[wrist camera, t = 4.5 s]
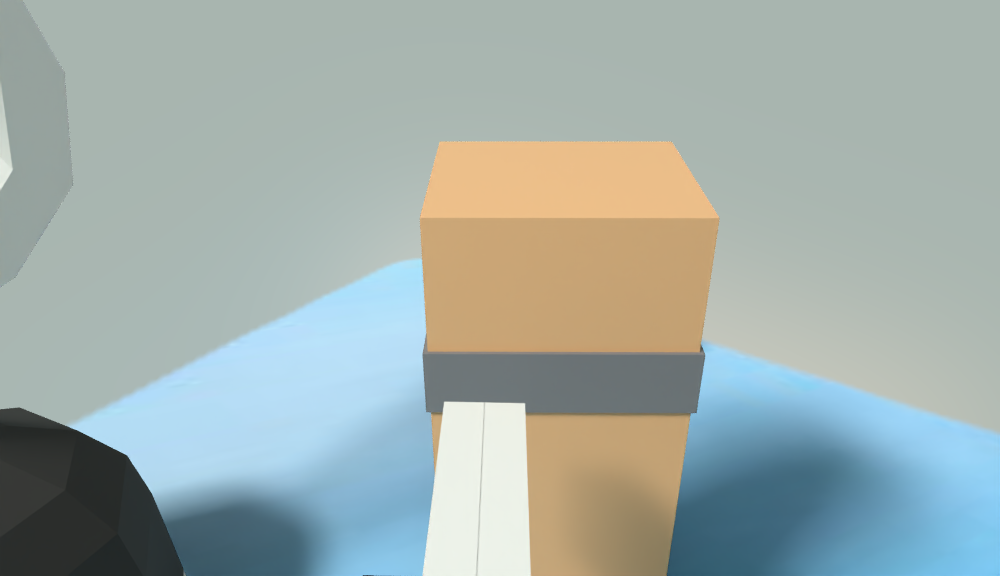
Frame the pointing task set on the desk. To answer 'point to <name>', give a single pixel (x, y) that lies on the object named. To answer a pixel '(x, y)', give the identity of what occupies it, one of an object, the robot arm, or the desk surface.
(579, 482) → the tan box with band
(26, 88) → the hook
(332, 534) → the desk surface
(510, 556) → the robot arm
